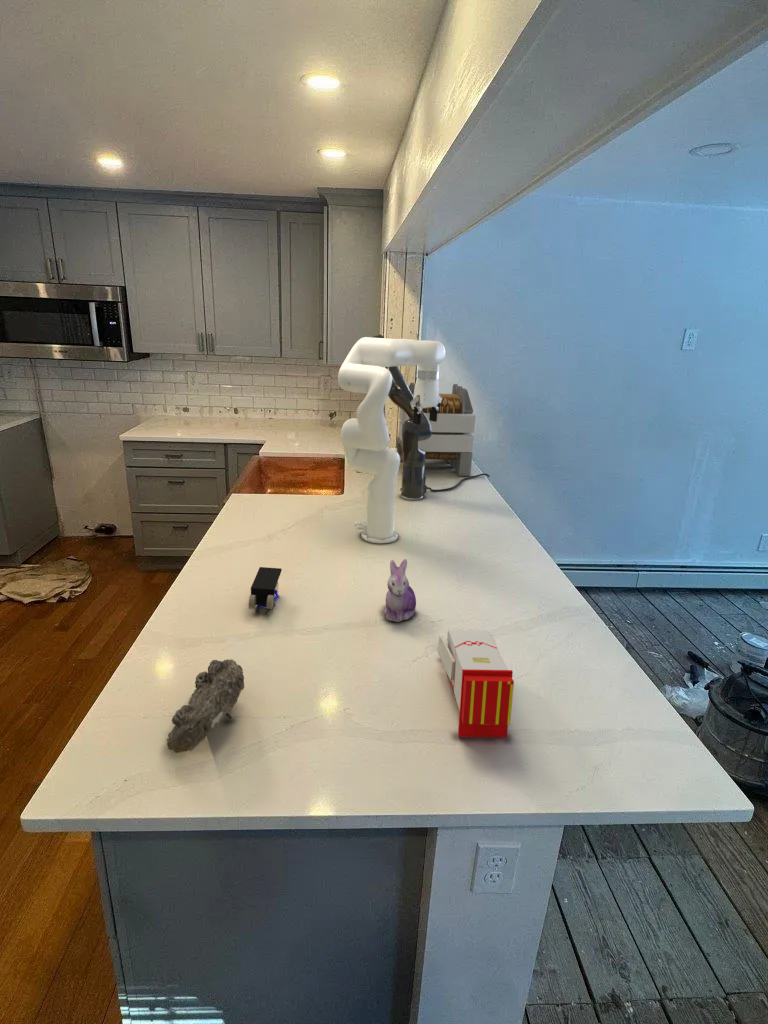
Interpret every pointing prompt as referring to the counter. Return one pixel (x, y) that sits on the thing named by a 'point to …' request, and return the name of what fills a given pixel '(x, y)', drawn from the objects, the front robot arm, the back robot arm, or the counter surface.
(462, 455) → the transformer
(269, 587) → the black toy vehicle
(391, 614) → the figurine
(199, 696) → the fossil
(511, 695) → the toy
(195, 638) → the counter surface
